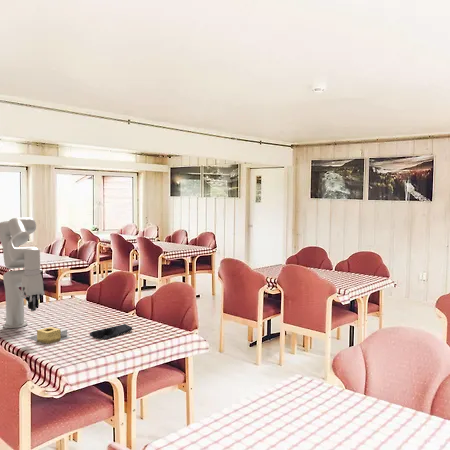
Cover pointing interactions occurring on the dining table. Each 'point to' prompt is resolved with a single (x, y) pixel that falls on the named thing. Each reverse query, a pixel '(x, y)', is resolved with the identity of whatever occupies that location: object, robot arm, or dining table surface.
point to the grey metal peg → (34, 302)
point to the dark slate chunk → (111, 331)
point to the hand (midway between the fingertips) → (33, 308)
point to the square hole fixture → (50, 335)
